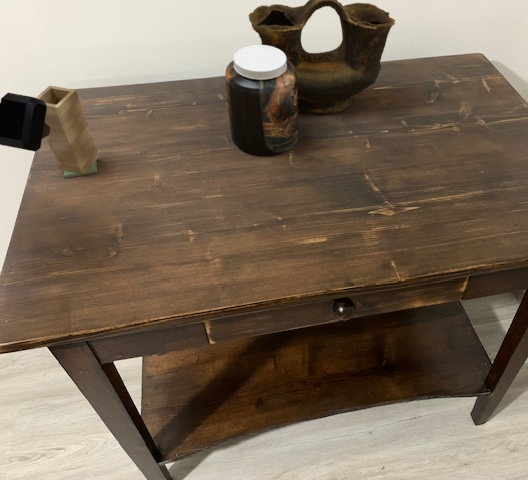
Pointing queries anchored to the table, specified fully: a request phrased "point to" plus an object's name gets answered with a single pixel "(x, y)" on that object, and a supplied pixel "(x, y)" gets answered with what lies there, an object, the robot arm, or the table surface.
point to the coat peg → (91, 170)
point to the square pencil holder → (68, 130)
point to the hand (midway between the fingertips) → (18, 125)
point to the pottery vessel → (331, 62)
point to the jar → (262, 100)
